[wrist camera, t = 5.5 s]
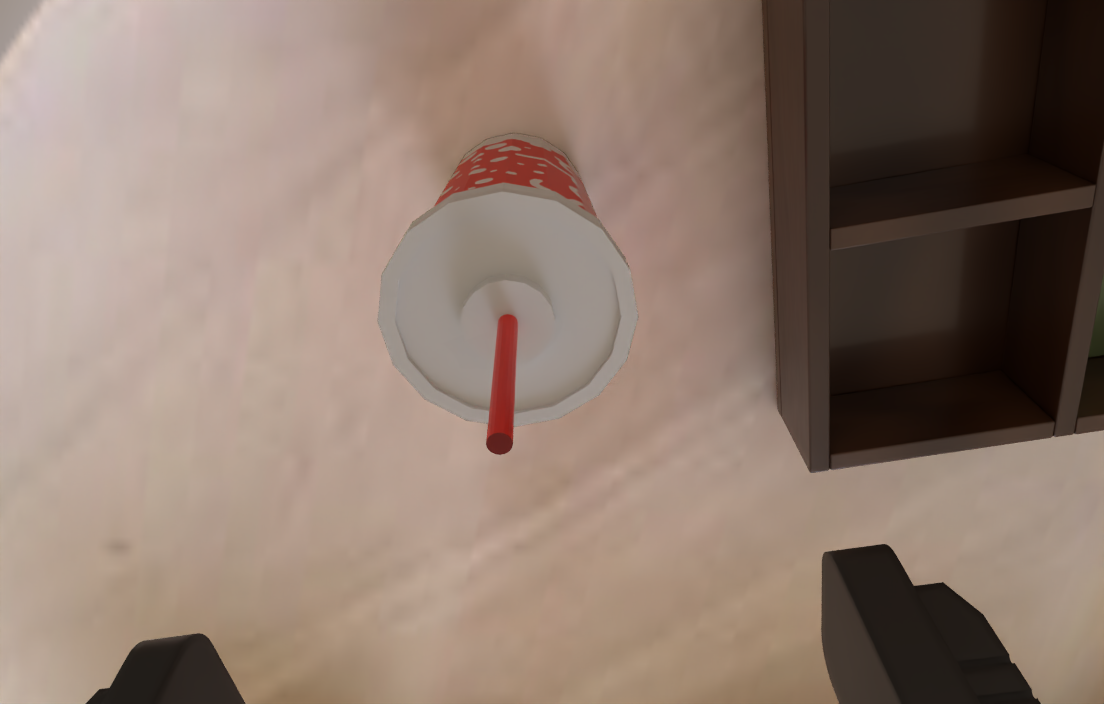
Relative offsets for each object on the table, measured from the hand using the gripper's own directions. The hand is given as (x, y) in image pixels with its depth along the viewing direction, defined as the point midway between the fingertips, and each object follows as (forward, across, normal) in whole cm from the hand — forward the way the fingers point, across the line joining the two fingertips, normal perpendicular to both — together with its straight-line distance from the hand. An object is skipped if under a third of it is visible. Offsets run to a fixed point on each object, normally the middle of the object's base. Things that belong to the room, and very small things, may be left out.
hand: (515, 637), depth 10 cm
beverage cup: (+18, 0, 0) cm, 18 cm away
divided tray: (+18, -17, +1) cm, 25 cm away
